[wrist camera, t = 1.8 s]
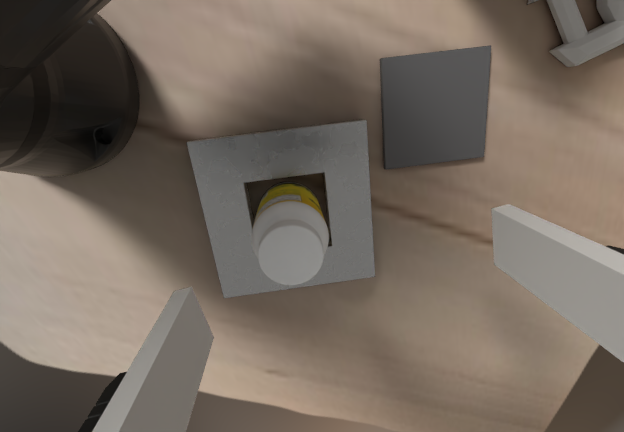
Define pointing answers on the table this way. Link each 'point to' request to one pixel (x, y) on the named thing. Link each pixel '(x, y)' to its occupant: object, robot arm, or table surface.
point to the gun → (577, 41)
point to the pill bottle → (290, 234)
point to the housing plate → (278, 164)
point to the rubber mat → (434, 106)
